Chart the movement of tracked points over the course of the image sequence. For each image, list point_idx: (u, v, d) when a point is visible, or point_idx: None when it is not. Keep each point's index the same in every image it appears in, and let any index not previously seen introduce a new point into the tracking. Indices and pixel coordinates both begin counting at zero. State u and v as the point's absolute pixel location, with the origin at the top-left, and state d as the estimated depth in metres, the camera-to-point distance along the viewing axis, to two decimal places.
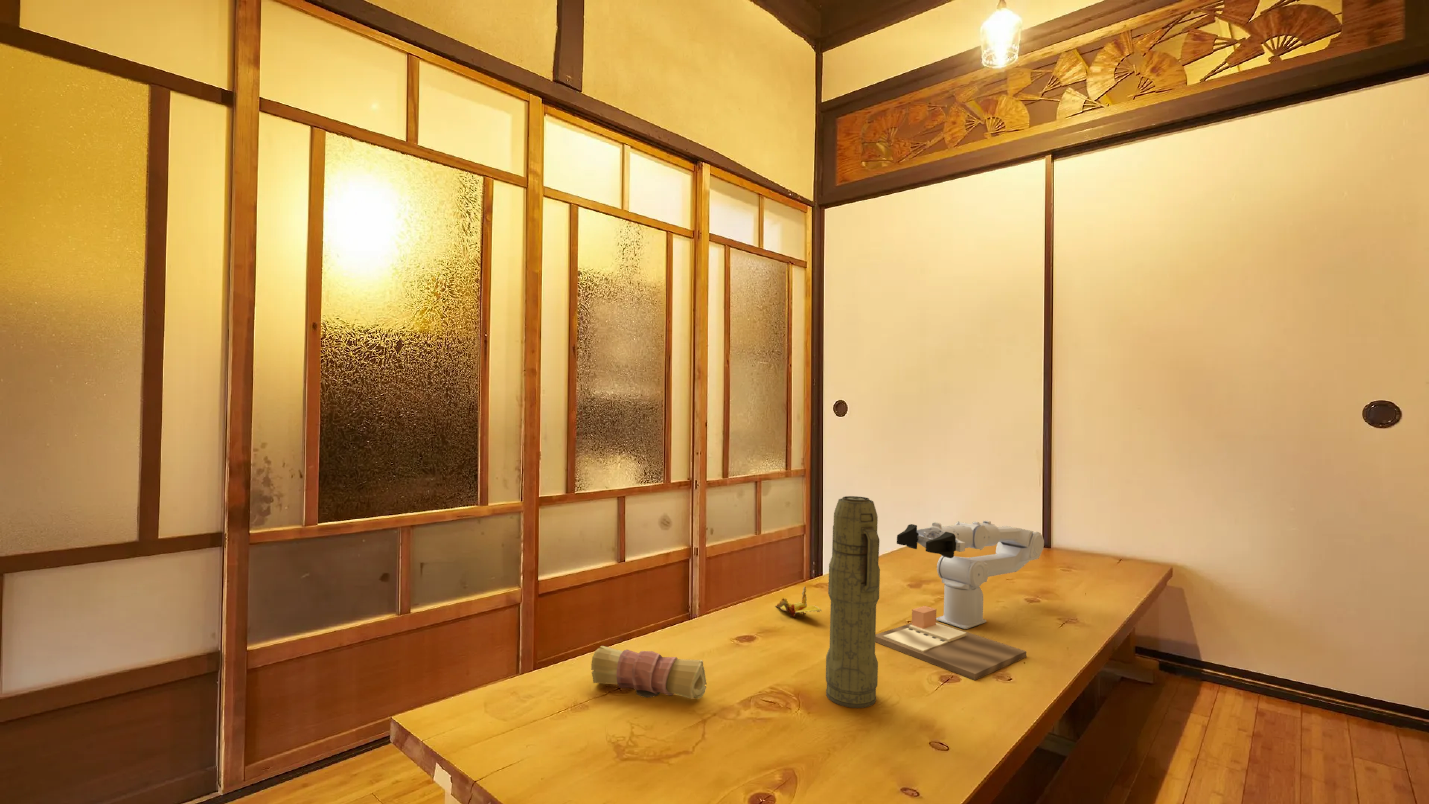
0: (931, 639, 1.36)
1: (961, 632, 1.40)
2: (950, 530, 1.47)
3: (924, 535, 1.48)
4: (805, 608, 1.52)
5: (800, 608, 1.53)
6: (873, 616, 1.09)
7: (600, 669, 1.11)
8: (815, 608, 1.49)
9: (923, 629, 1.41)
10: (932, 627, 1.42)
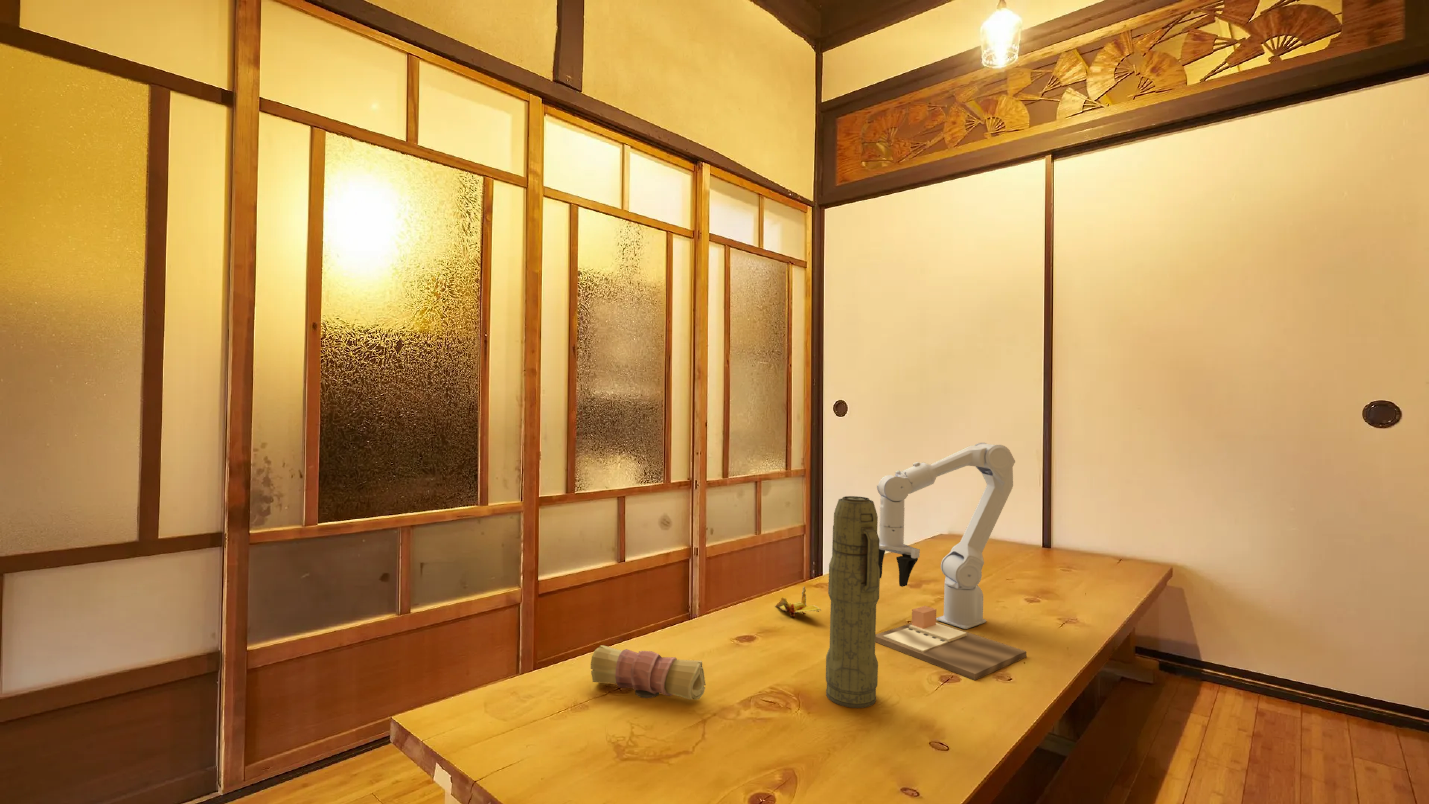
0: (931, 639, 1.36)
1: (961, 632, 1.40)
2: (891, 534, 1.49)
3: None
4: (805, 608, 1.53)
5: (800, 608, 1.53)
6: (873, 616, 1.09)
7: (599, 668, 1.11)
8: (815, 608, 1.49)
9: (923, 629, 1.41)
10: (932, 627, 1.42)
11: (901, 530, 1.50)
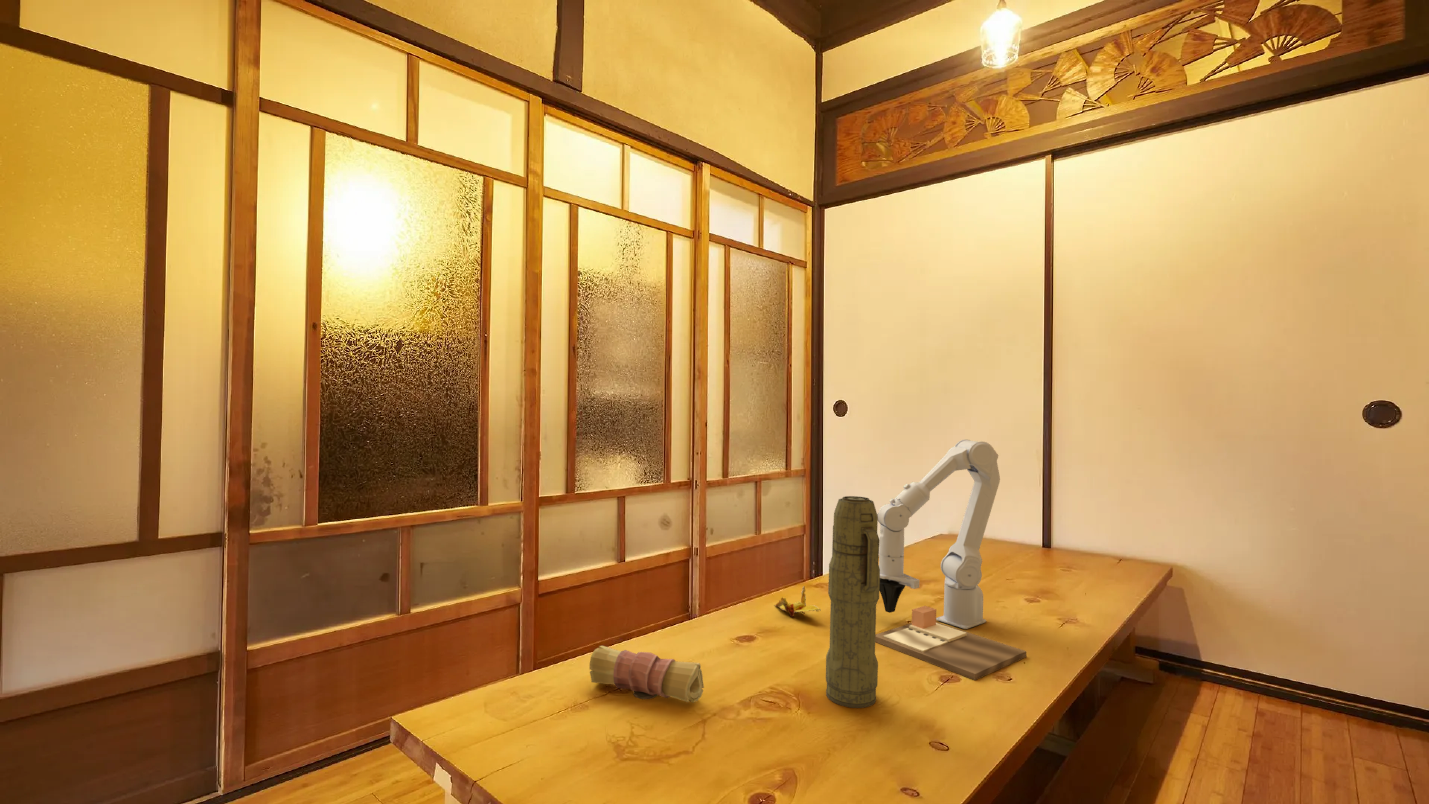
0: (931, 639, 1.36)
1: (961, 632, 1.40)
2: (891, 564, 1.49)
3: None
4: (804, 608, 1.53)
5: (799, 608, 1.53)
6: (873, 616, 1.09)
7: (598, 669, 1.11)
8: (814, 608, 1.49)
9: (923, 629, 1.41)
10: (932, 627, 1.42)
11: (901, 559, 1.49)
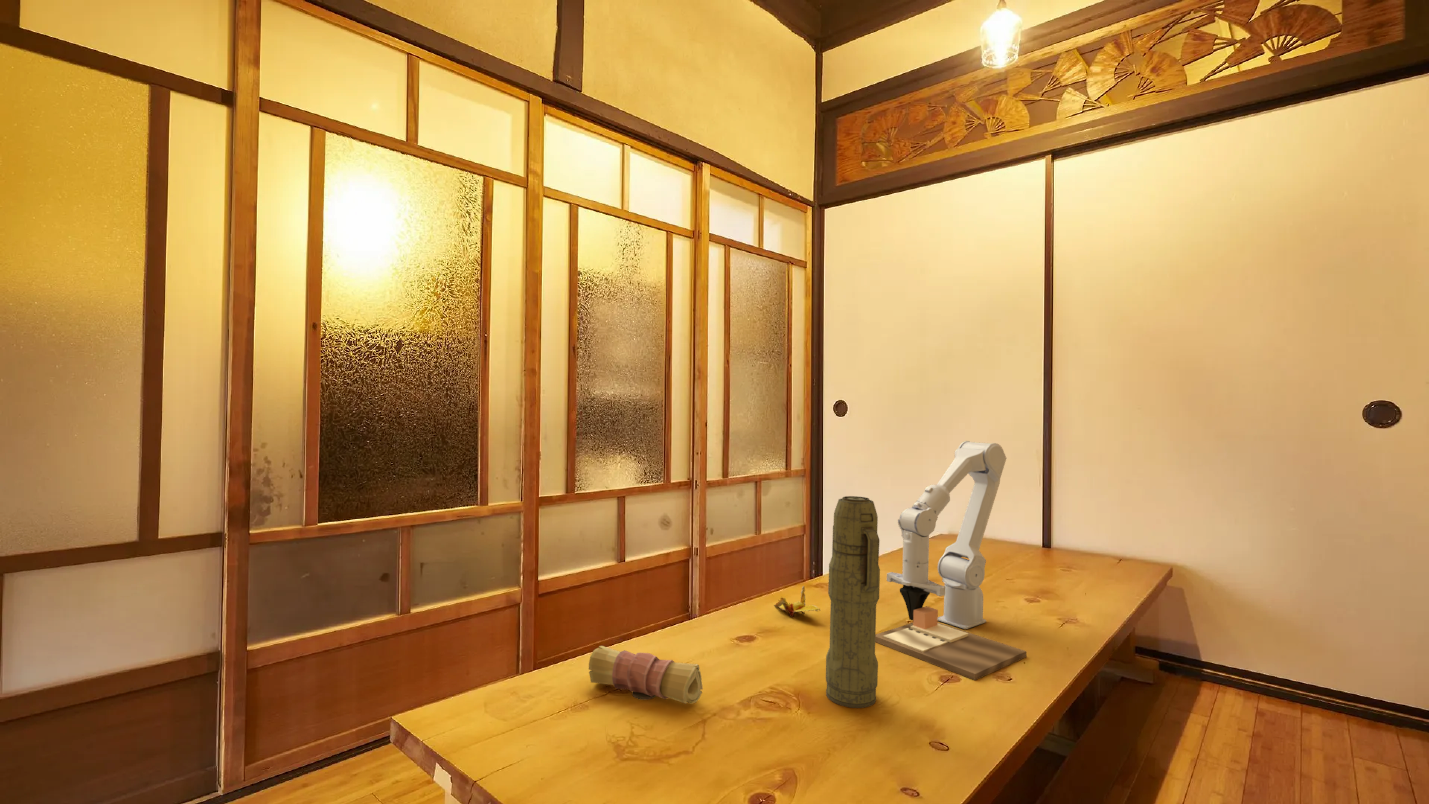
0: (931, 639, 1.36)
1: (962, 633, 1.39)
2: (915, 571, 1.44)
3: None
4: (804, 607, 1.53)
5: (799, 607, 1.53)
6: (873, 616, 1.09)
7: (597, 669, 1.11)
8: (814, 607, 1.49)
9: (924, 630, 1.41)
10: (934, 628, 1.42)
11: (926, 566, 1.44)
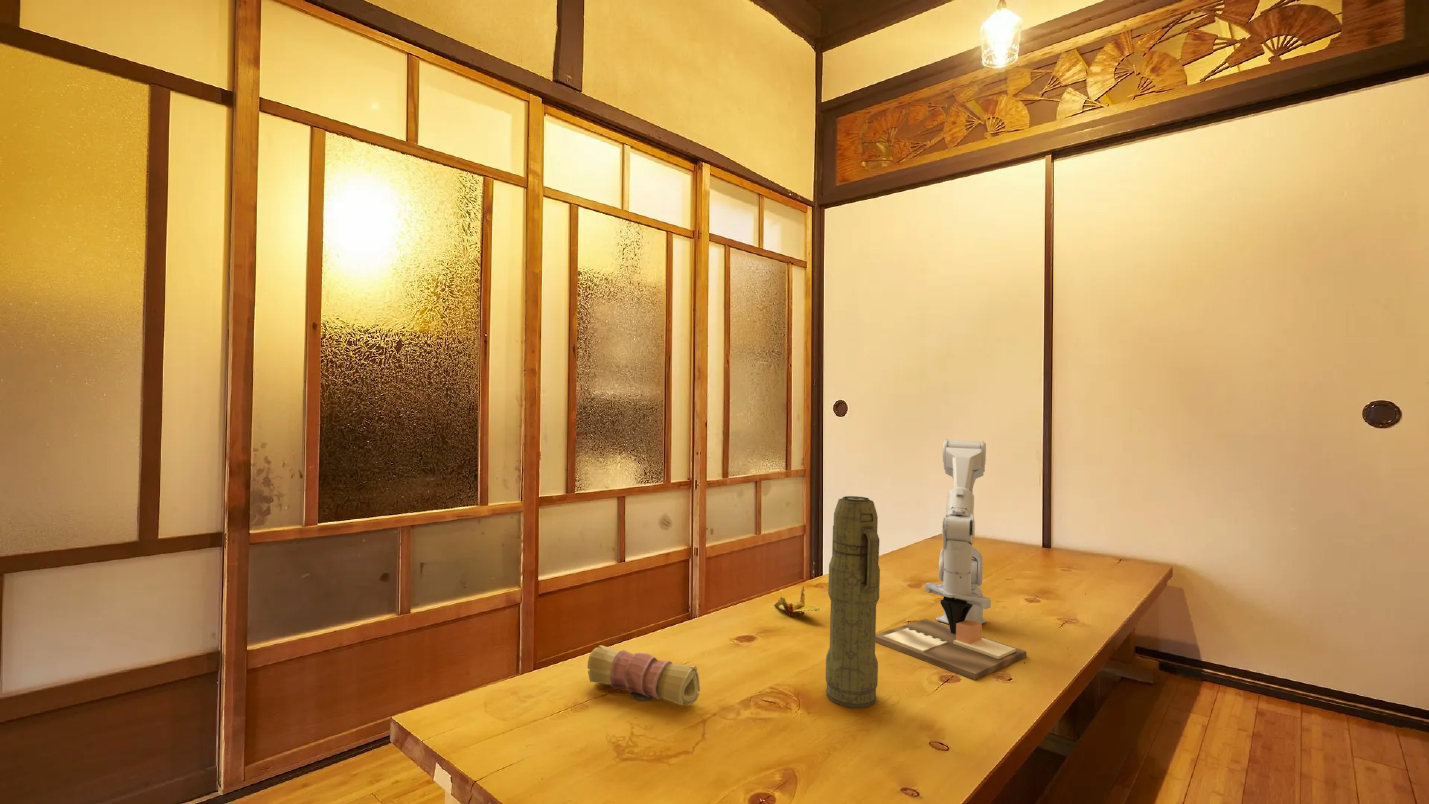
0: (931, 639, 1.36)
1: (1010, 648, 1.31)
2: (958, 581, 1.35)
3: None
4: (803, 607, 1.53)
5: (798, 607, 1.53)
6: (873, 616, 1.09)
7: (596, 668, 1.11)
8: (813, 607, 1.49)
9: (969, 645, 1.32)
10: (978, 642, 1.34)
11: (969, 576, 1.36)
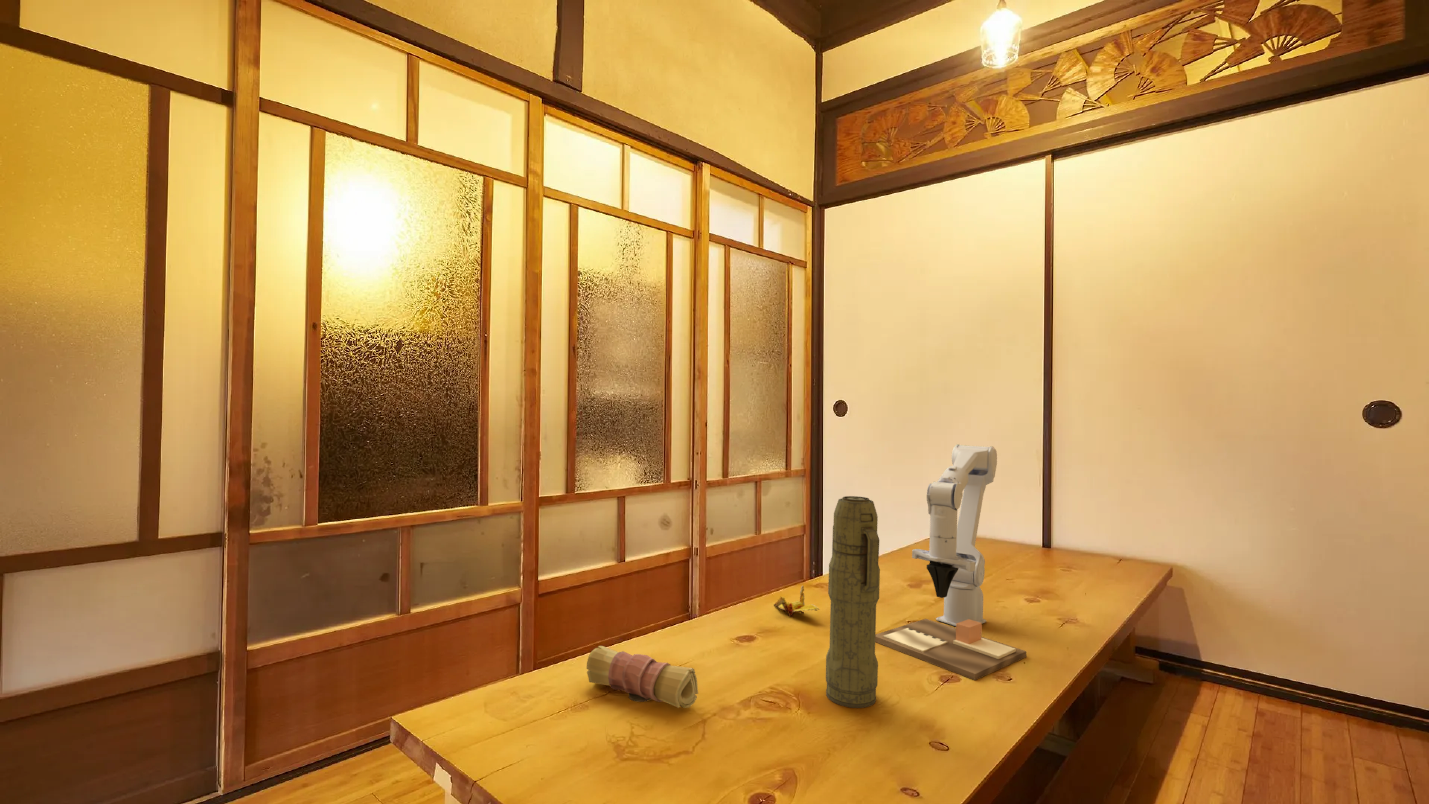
0: (931, 639, 1.36)
1: (1010, 648, 1.31)
2: (943, 546, 1.38)
3: None
4: (803, 607, 1.53)
5: (798, 607, 1.54)
6: (873, 616, 1.09)
7: (594, 669, 1.11)
8: (813, 607, 1.50)
9: (969, 645, 1.32)
10: (978, 642, 1.34)
11: (954, 541, 1.39)
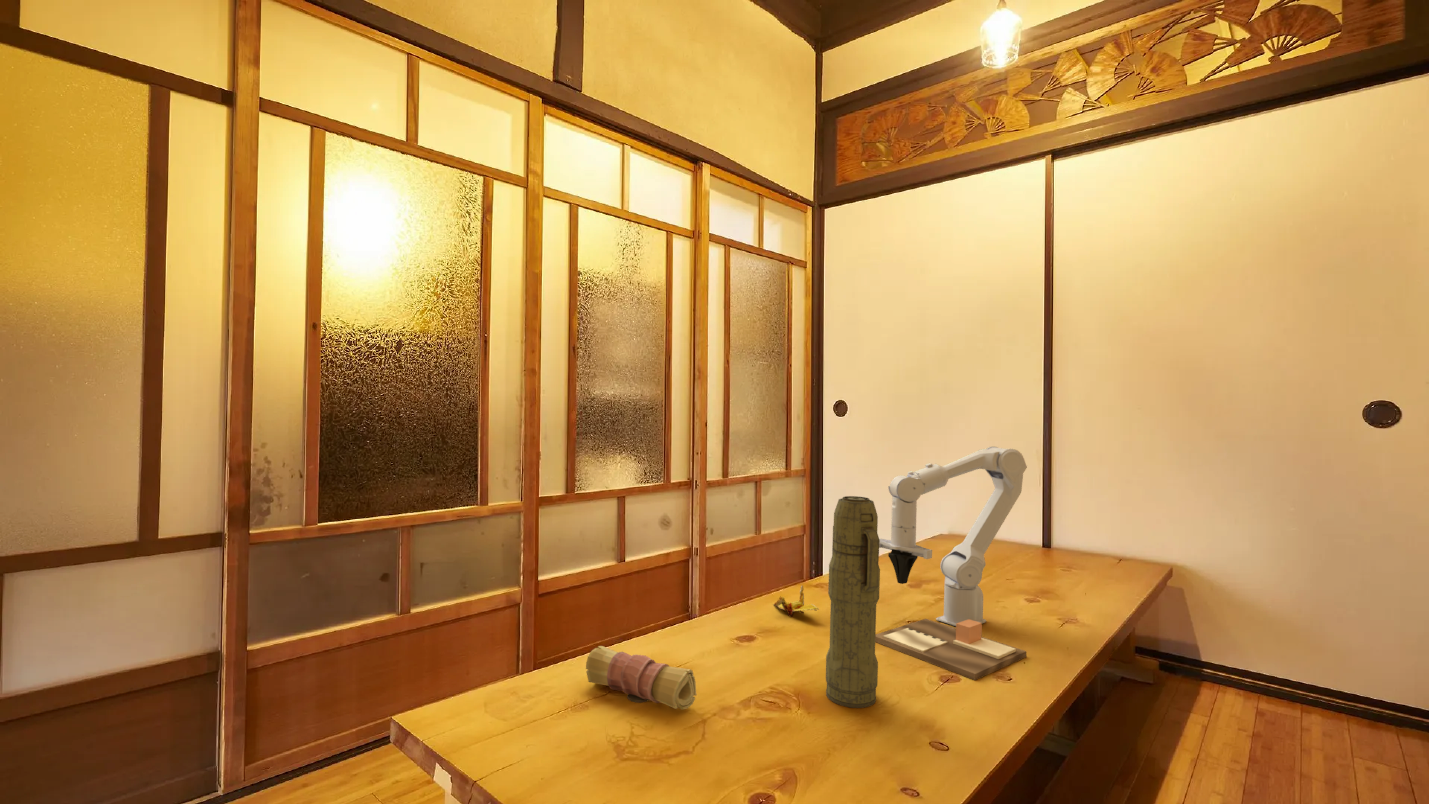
0: (931, 639, 1.36)
1: (1010, 648, 1.31)
2: (903, 535, 1.49)
3: None
4: (802, 607, 1.53)
5: (797, 607, 1.54)
6: (873, 616, 1.09)
7: (593, 669, 1.11)
8: (812, 607, 1.50)
9: (969, 645, 1.32)
10: (978, 642, 1.34)
11: (913, 530, 1.49)
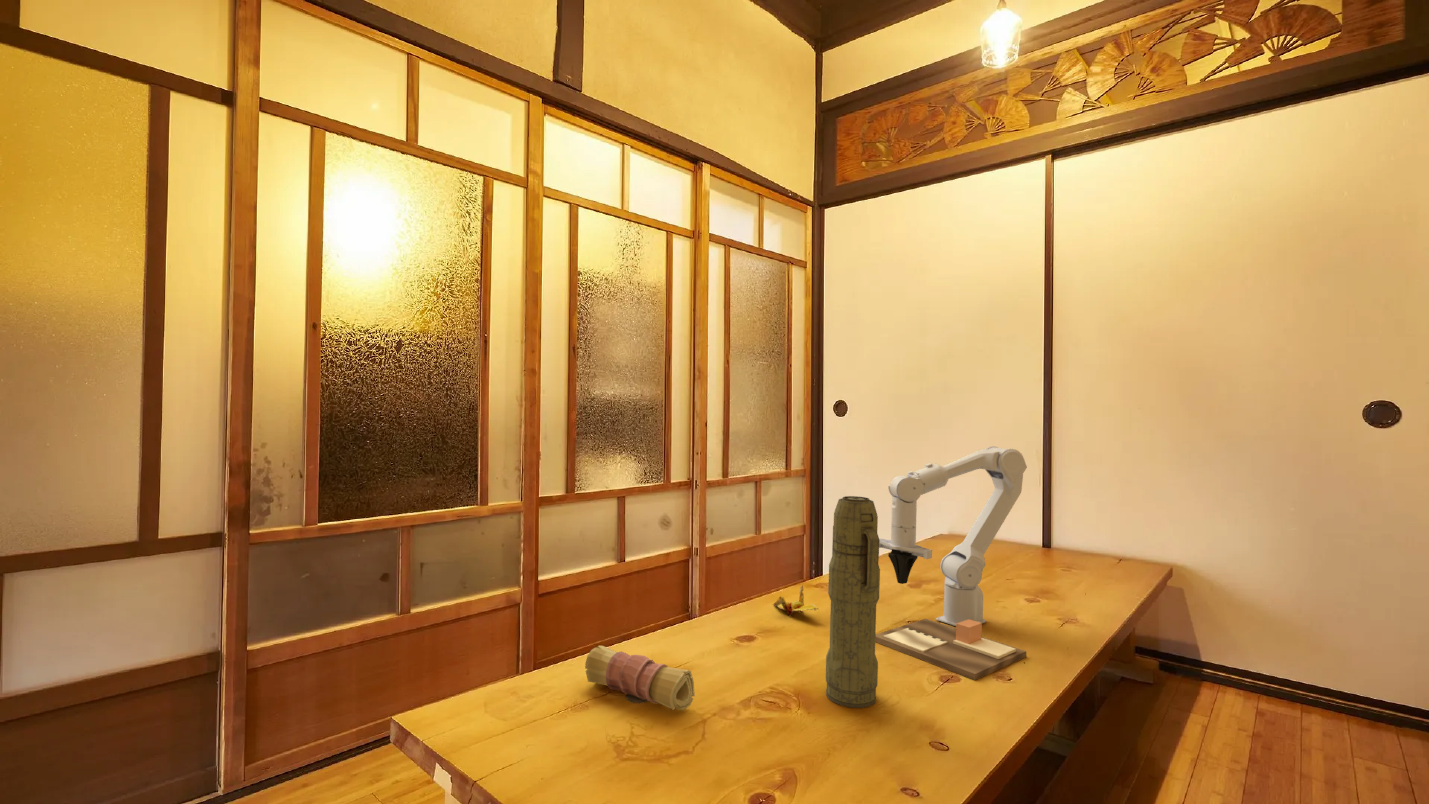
0: (931, 639, 1.36)
1: (1010, 648, 1.31)
2: (903, 535, 1.49)
3: None
4: (802, 606, 1.54)
5: (797, 606, 1.54)
6: (873, 616, 1.09)
7: (593, 668, 1.11)
8: (812, 606, 1.50)
9: (969, 645, 1.32)
10: (978, 642, 1.34)
11: (913, 530, 1.49)
